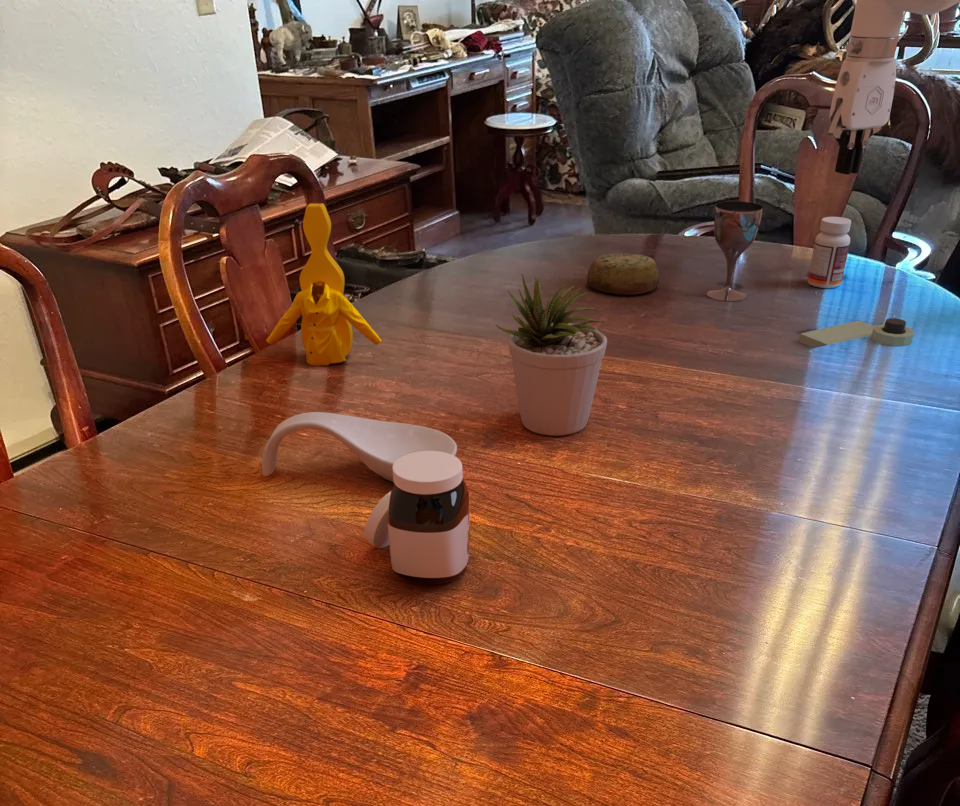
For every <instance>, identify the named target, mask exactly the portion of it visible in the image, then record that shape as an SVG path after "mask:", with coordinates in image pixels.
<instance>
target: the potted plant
mask: <svg viewBox="0 0 960 806" xmlns="http://www.w3.org/2000/svg"><path fill="white" fill-rule="evenodd" d="M521 278H522V284H523V290H524V295H525V298H524V297H523V294H522V291H521V290H520V288H518V293H519V295H520V298H521V301H522V303H523V305H524V306H523V305H522V304H521V303H520V301H519V300H518V299H517V298H516V297H515V296H514V295H513V294H512V293H511V292H510V291H509V290H507V293H508V295H509V296H510V297H511V299H512V300H513V302H514V304H515V306H516V307H517V309H518V312H520V314H521V316H522V318H524V320H525V321H526V322H525V321H523V320H522V319H521V318H520V317H518V316H516V315H514V314H513V313H511V316H512V318H513V319H514V320H515V322H516V323H518V325H519V327H518V328H517V329H515V330H512V329H506V328H503V327H500V326H499V325H497V324H495V327H496V328H497V329H499V330H501V331H503V332H505V333H507V334H509V337H508V338H507V340H508V348H509V349H508V350H509V354H510V356H511V360H512V368H513V375H514V381H515V389H516V394H517V395H516V396H517V402H518V408H519V409H518V410H519V416H520V420H521V423H522V425H523V426H524V428H525V429H527V430H529V431H530V432H532V433H535V434H539V435H543V436H545V435H546V436H553V437H559V436H561V437H563V436H567V435H572V434H575V433H578V432H581V430H583V429H584V428H585V427H586V426H587V424H588V421H589V418H590V414H591V410H592V406H593V402H594V397H595V393H596V388H597V385H598V379H599V375H600V372H601V371H600V370H601V366H602V361H603V358H604V357H605V355H606V349H607V344H608V338H607V336H605V334H604V333H602V332H601V331H599V330H598V329H596V328H595V327H593V326H591V325H589V324H591V323H605V322H606V321H605V320H597V319H594V318H590V317H583V316H571V315H572V314H574V313H575V312H579V311H594V310H596V309H595V308H593V307H586V306H585V307H576V308H573V309H570V310H569V308H570V306H572V305H573V303H574V302H576V300H578V299H579V298H581V297H582V296H585V295H586V294H588V292H584V293H581V294H579V293H580V290H582V289H583V287H580V288H577V289H575V290H574V291H573V292H571V293H570V294H568V295H567V296H566V294H567V293H568V292H569V291H571V290H572V289H573V288H574V287H575V286H574V285H573V286H571V287H569V288H567V289H565V290H564V291H563V292H561V291H562V290H563V288H565V286H566V285H567V284H568V282H567V281H566V282H565V283H564V284H563V285H561V287H559V288H558V290H557V291H556V292H555V293H554V295H553V296H552V298H551V297H549V299H548V301H547V303H546V305H545V308H544V305H543V303H542V297H541V292H540V287H541V281H540V279H539V277H536V276H534V285H533V297H532V296H531V294H530V290H529V288H528V286H527V283H526V280H525V277H524V274H523V273H521ZM560 293H561V294H560ZM578 294H579V295H578ZM576 295H577V296H576ZM565 296H566V297H565ZM564 297H565V298H564ZM563 298H564V299H563ZM577 321H583V322H579V323H576V324H575V323H573V322H577Z"/></svg>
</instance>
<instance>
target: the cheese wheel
mask: <svg viewBox="0 0 960 806" xmlns="http://www.w3.org/2000/svg"><path fill="white" fill-rule="evenodd" d="M586 281H587V284H588V285H589V286H590V287H591V288H592V289H594V290H597V291H598V292H599V291H600V292H602V293H605V294H614V295H629V296H632V295H641V294H642V295H643V294H645V293H649V292H651V291H654V290H655V289H656V288H657V287H658V285H659V283H660V272H659V268H658V266H657V263H656V261H655V260H654V259H653V258H651V257H650V256H647V255H643V254H638V253H609V254H603V255H600V256H597V257H596V258H595V259H594V260H593V261H592V263H591V264H590V265H589V268H588V271H587V274H586Z"/></svg>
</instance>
